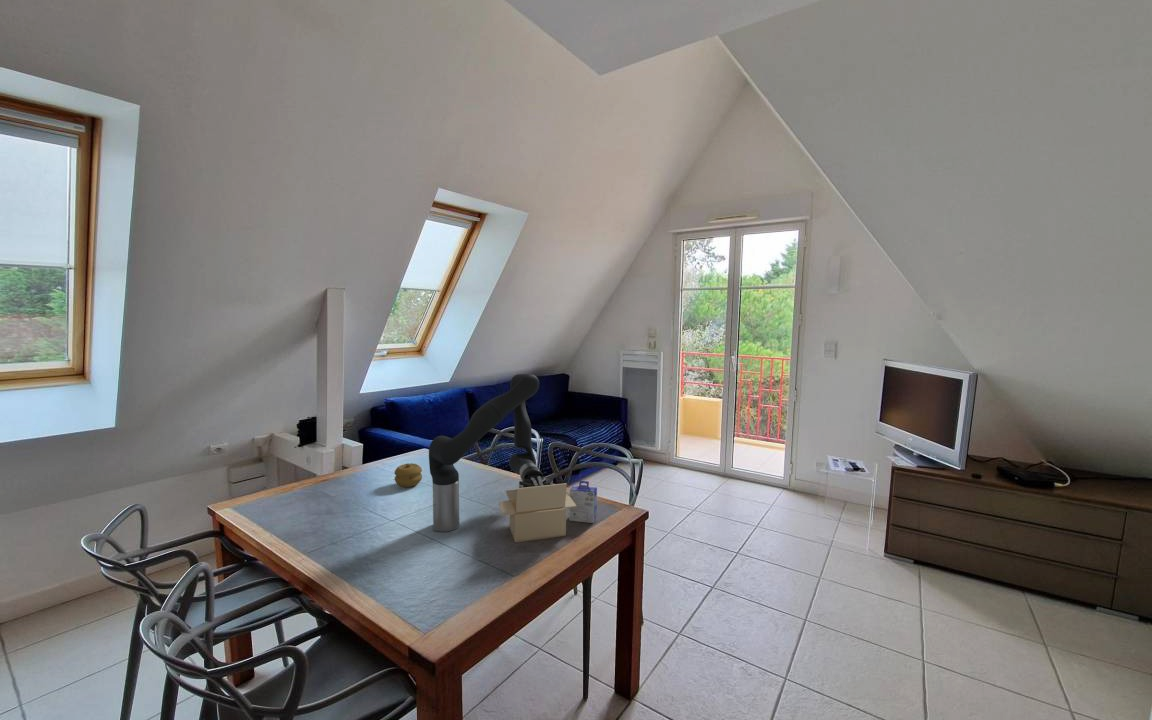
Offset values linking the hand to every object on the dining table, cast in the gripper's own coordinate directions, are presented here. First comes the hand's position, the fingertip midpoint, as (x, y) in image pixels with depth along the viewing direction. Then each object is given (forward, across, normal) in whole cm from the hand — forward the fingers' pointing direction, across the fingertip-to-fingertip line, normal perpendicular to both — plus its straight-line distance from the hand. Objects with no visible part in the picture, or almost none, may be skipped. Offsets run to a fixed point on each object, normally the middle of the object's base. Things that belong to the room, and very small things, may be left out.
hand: (541, 492), depth 161 cm
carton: (-12, 0, +17) cm, 21 cm away
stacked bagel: (-66, -45, +17) cm, 82 cm away
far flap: (0, 0, +2) cm, 2 cm away
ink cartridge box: (-12, +19, +17) cm, 28 cm away
